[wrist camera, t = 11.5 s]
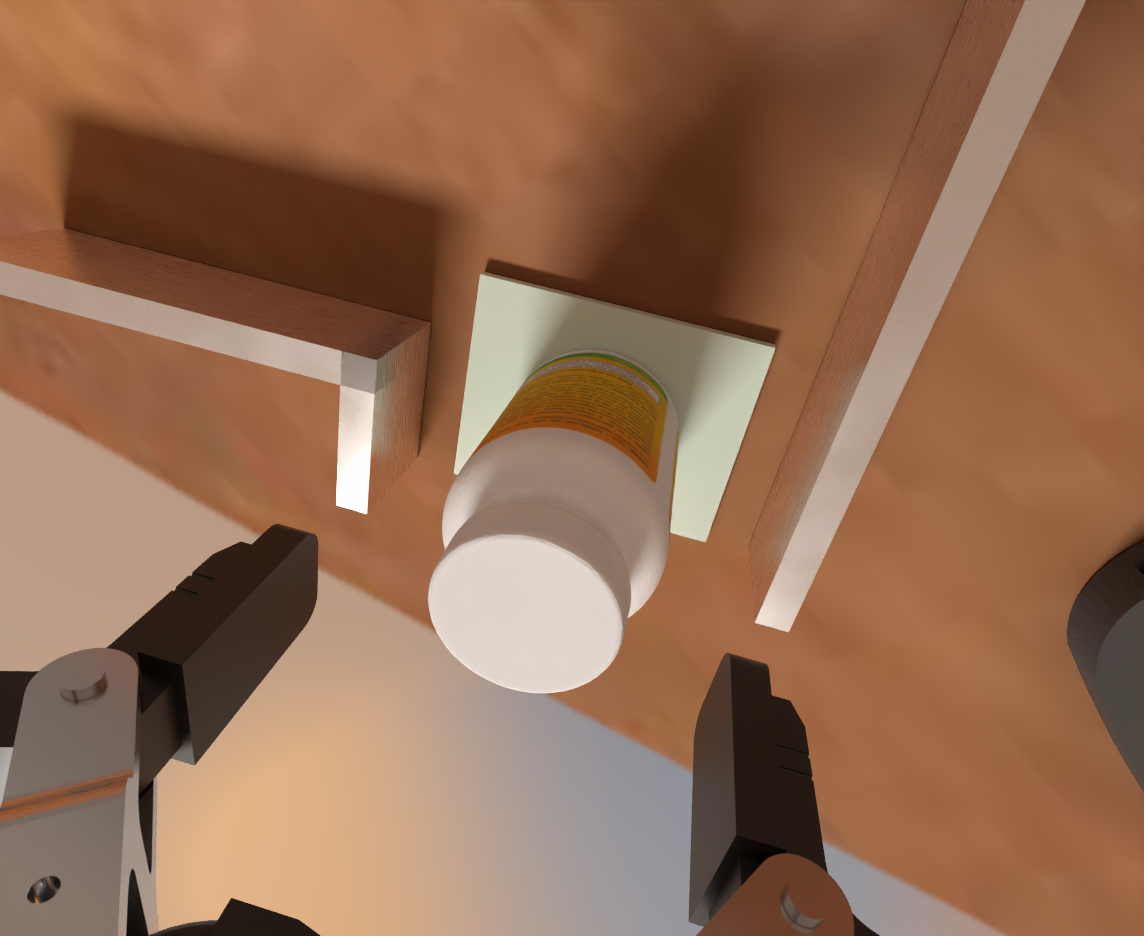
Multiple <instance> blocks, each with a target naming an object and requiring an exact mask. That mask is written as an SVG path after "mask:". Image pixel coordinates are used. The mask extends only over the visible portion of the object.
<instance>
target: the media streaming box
mask: <svg viewBox="0 0 1144 936" xmlns="http://www.w3.org/2000/svg"><path fill="white" fill-rule="evenodd" d="M1067 638H1068V645H1069V647H1070V650H1071V652H1072V655H1073V657H1074V660H1075V662H1076V664H1077V667H1078V669H1079V671H1080V673H1081V676H1082V678H1083V680H1084V682H1085V685H1086V687H1087V689H1088V691H1089V693H1090V695H1091V698H1092V700H1093V702H1094V704H1095V706H1096V708H1097V710H1098V712H1099V714H1100V716H1101V718H1102V720H1103V722H1104V724H1105V726H1106V728H1107V730H1108V731H1109V733H1110V735H1111V737H1112V739H1113V741H1114V743H1115V744H1116V746H1117V748H1118V750H1119V752H1120V753H1121V755H1122V757H1123V759H1124V760H1125V762H1126V764H1127V765H1128V767H1129V769H1130V771H1131V772H1132V774H1133V775H1134V777H1135V779H1136V780H1137V782H1138V784H1139V785H1140V787H1141V788H1142V790H1143V791H1144V542H1142V543H1139V544H1137V545H1135V546H1133V547H1132V548H1130V549H1128V550H1126V551H1125V552H1123V553H1122V554H1120V555H1119V556H1117V557H1116V558H1114V559H1113V560H1112V561H1110V562H1109V563H1108V564H1107V565H1105V566H1104V567H1103V568H1102V569H1101V570H1100V571H1099V572H1098V573H1097V574H1095V576H1094V577H1093V578H1092V579H1091V580H1090V581H1089V582H1088V583H1087V585H1086V586H1085V587H1084V589H1083V590H1082V591H1081V593H1080V595H1079V596H1078V598H1077V600H1076V602H1075V604H1074V606H1073V608H1072V611H1071V614H1070V617H1069V622H1068V629H1067Z"/></svg>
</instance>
